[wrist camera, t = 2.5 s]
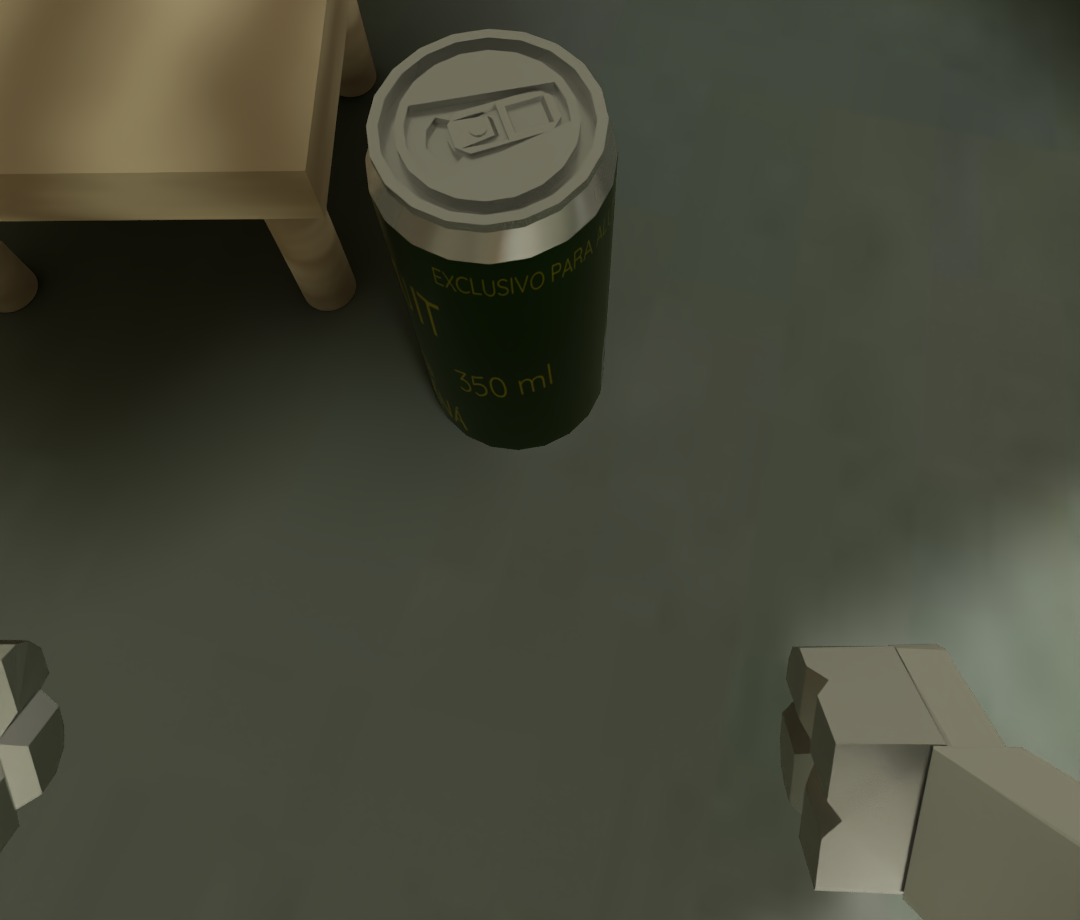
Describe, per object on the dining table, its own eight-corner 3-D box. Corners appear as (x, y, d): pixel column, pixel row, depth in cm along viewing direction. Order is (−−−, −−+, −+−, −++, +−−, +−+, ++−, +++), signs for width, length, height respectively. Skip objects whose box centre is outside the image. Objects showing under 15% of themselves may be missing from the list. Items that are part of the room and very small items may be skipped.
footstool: (395, 46, 35) (347, -162, 28) (370, 326, 31) (305, 170, 23) (32, 51, 36) (-112, -151, 28) (-42, 328, 31) (-234, 176, 24)
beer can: (571, 288, 31) (569, -7, 20) (626, 428, 29) (659, 188, 18) (416, 335, 31) (327, 60, 20) (463, 480, 29) (393, 268, 18)
